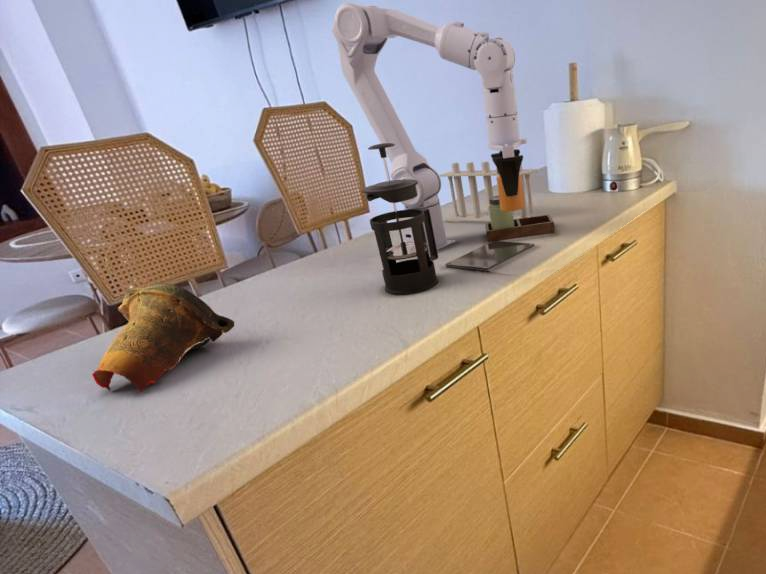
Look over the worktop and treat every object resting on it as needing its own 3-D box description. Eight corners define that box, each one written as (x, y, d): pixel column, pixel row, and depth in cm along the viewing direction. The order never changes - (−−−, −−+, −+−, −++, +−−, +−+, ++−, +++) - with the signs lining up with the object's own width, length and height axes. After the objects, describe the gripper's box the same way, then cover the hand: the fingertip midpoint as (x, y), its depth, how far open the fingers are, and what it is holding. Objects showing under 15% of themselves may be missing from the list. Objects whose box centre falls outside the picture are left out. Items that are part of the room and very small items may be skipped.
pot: (24, 341, 67) (116, 253, 79) (67, 397, 76) (145, 310, 87) (163, 373, 67) (235, 280, 79) (190, 425, 76) (251, 335, 88)
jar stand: (487, 244, 114) (486, 231, 113) (486, 235, 120) (485, 223, 119) (555, 235, 114) (554, 221, 113) (550, 226, 120) (549, 214, 119)
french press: (405, 299, 90) (371, 149, 79) (371, 291, 96) (334, 150, 85) (456, 276, 98) (431, 136, 87) (421, 270, 104) (394, 138, 92)
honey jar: (515, 211, 106) (510, 168, 102) (495, 211, 108) (489, 169, 105) (529, 205, 109) (525, 163, 105) (509, 204, 112) (505, 164, 108)
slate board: (487, 272, 98) (487, 268, 97) (446, 267, 103) (445, 263, 103) (534, 247, 108) (534, 243, 107) (494, 244, 113) (494, 240, 113)
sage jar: (506, 239, 114) (501, 200, 110) (488, 237, 117) (482, 199, 113) (520, 232, 117) (515, 194, 113) (501, 231, 120) (497, 194, 116)
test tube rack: (447, 221, 137) (437, 165, 131) (458, 216, 140) (449, 161, 134) (532, 224, 124) (525, 162, 118) (542, 219, 127) (536, 158, 121)
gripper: (527, 115, 94) (535, 197, 101) (519, 110, 107) (527, 183, 114) (486, 120, 94) (497, 202, 101) (483, 115, 107) (493, 188, 113)
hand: (510, 193), depth 107 cm, fingers closed on honey jar, 5 cm apart
